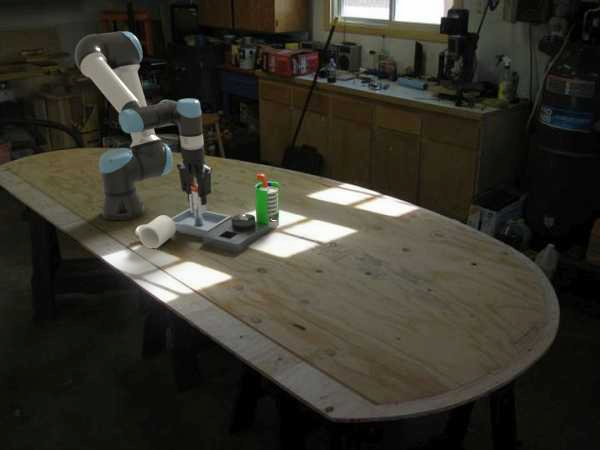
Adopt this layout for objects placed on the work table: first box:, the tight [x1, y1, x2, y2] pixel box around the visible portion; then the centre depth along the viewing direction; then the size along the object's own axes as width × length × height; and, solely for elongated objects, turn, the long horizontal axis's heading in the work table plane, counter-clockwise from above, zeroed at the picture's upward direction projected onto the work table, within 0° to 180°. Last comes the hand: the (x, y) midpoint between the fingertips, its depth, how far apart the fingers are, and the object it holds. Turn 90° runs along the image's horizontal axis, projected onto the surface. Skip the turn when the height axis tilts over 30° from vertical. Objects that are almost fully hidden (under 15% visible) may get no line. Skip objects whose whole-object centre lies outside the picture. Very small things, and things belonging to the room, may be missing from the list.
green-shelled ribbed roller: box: [254, 173, 280, 229], centre depth 209 cm, size 9×8×18 cm
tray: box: [170, 207, 233, 239], centre depth 211 cm, size 18×14×3 cm
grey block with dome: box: [202, 213, 269, 254], centre depth 201 cm, size 14×18×7 cm
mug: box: [134, 214, 177, 250], centre depth 199 cm, size 12×10×8 cm
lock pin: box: [190, 182, 204, 225], centre depth 208 cm, size 4×4×14 cm
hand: (198, 211), depth 209 cm, fingers closed on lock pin, 3 cm apart
